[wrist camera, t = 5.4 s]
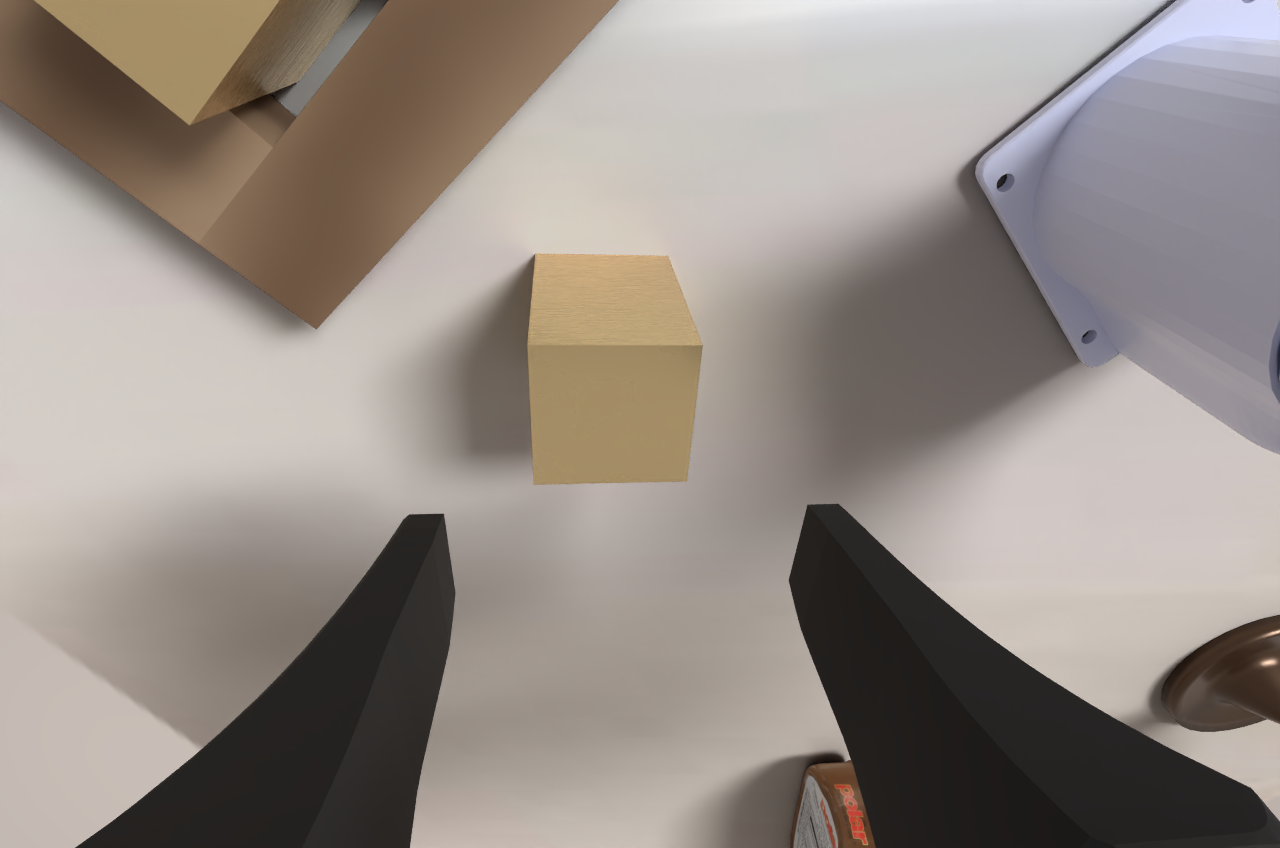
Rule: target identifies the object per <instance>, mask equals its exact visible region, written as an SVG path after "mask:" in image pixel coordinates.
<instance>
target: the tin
mask: <svg viewBox="0 0 1280 848" xmlns="http://www.w3.org/2000/svg"><path fill="white" fill-rule="evenodd" d="M791 848H876V847H875V843H874V839H873V835H872V831H871V828H870V824H869V820H868V816H867V813H866V809H865V806H864V802H863V799H862V795H861V792H860V788H859V785H858V781H857V778H856V774H855V771H854V767H853V764H852V761H851V760H849V761H847V762H840V763H821V764H814V765H811V766H810V767H808V768H807V769H806V772H805V774H804V779H803V783H802V787H801V792H800V796H799V800H798V805H797V809H796V814H795V819H794V824H793V829H792V834H791Z"/></svg>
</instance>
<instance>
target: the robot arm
mask: <svg viewBox="0 0 1280 848" xmlns="http://www.w3.org/2000/svg"><path fill="white" fill-rule="evenodd" d="M1005 174H1007V179H1006V182H1005V183H1004V184H1003V186H1002V187H1000V188H998V189H997V186H996V185H997V182H998V180H999V179H1000V177H1001V176H1003V175H1005ZM975 175H976V179H977V181H978V183H979V184H980V186H981V188H982V190H983V191H984V193H985V195H986V197H987V198H988V200H989V202H990V204H991V205H992V207H993V209H994V211H995V212H996V214H997V216H998V218H999V219H1000V221H1001V223H1002V225H1003V226H1004V228H1005V230H1006V232H1007V233H1008V235H1009V237H1010V239H1011V241H1012V242H1013V244H1014V246H1015V248H1016V249H1017V251H1018V253H1019V255H1020V256H1021V258H1022V260H1023V262H1024V263H1025V265H1026V267H1027V269H1028V270H1029V272H1030V274H1031V276H1032V277H1033V279H1034V281H1035V283H1036V284H1037V286H1038V288H1039V290H1040V292H1041V293H1042V295H1043V297H1044V299H1045V300H1046V302H1047V304H1048V306H1049V307H1050V309H1051V311H1052V313H1053V314H1054V316H1055V318H1056V320H1057V321H1058V323H1059V325H1060V327H1061V328H1062V330H1063V332H1064V334H1065V335H1066V337H1067V339H1068V341H1069V342H1070V344H1071V346H1072V348H1073V350H1074V351H1075V353H1076V355H1077V357H1078V358H1079V360H1080V361H1081V362H1082V363H1084V364H1085V365H1086V366H1088V367H1097V366H1100V365H1102V364H1104V363H1105V362H1107V361H1108V360H1110V359H1111V358H1113V357H1114V356H1116V355H1117V354H1119V353H1120V354H1122V355H1123V356H1125V357H1126V358H1128V359H1129V360H1131V361H1132V362H1134V363H1135V364H1137V365H1138V366H1139V367H1141V368H1142V369H1144V370H1145V371H1147V372H1148V373H1150V374H1151V375H1153V376H1154V377H1156V378H1157V379H1159V380H1160V381H1162V382H1163V383H1165V384H1166V385H1168V386H1169V387H1171V388H1172V389H1174V390H1175V391H1177V392H1178V393H1179V394H1181V395H1182V396H1184V397H1185V398H1187V399H1188V400H1190V401H1191V402H1193V403H1194V404H1196V405H1197V406H1199V407H1200V408H1202V409H1203V410H1205V411H1206V412H1208V413H1209V414H1211V415H1212V416H1214V417H1215V418H1217V419H1218V420H1219V421H1221V422H1222V423H1224V424H1225V425H1227V426H1228V427H1230V428H1231V429H1233V430H1234V431H1236V432H1237V433H1239V434H1240V435H1242V436H1243V437H1245V438H1246V439H1248V440H1249V441H1251V442H1253V443H1255V444H1257V445H1259V446H1261V447H1263V448H1264V449H1267V450H1269V451H1272V452H1274V453H1277V454H1280V13H1279V9H1278V5H1277V1H1276V0H1176V1H1175V2H1174V3H1173V4H1171V5H1170V6H1169V7H1168V8H1166V9H1165V10H1164V11H1163V12H1161V13H1160V14H1159V15H1158V16H1156V17H1155V18H1154V19H1153V20H1151V21H1150V22H1149V23H1148V24H1146V25H1145V26H1144V27H1143V28H1141V29H1140V30H1139V31H1138V32H1136V33H1135V34H1134V35H1133V36H1131V37H1130V38H1129V39H1128V40H1126V41H1125V42H1124V43H1123V44H1121V45H1120V46H1119V47H1118V48H1116V49H1115V50H1114V51H1113V52H1111V53H1110V54H1109V55H1108V56H1106V57H1105V58H1104V59H1103V60H1101V61H1100V62H1099V63H1098V64H1096V65H1095V66H1094V67H1093V68H1091V69H1090V70H1089V71H1088V72H1086V73H1085V74H1084V75H1083V76H1081V77H1080V78H1079V79H1078V80H1076V81H1075V82H1074V83H1073V84H1071V85H1070V86H1069V87H1068V88H1066V89H1065V90H1064V91H1063V92H1061V93H1060V94H1059V95H1058V96H1056V97H1055V98H1054V99H1053V100H1051V101H1050V102H1049V103H1048V104H1047V105H1045V106H1044V107H1043V108H1042V109H1040V110H1039V111H1038V112H1037V113H1035V114H1034V115H1033V116H1032V117H1030V118H1029V119H1028V120H1027V121H1025V122H1024V123H1023V124H1022V125H1020V126H1019V127H1018V128H1017V129H1015V130H1014V131H1013V132H1012V133H1010V134H1009V135H1008V136H1007V137H1005V138H1004V139H1003V140H1002V141H1000V142H999V143H998V144H997V145H995V146H994V147H993V148H992V149H990V150H989V151H988V152H987V153H985V154H984V155H983V156H982V157H981V159H980V160H979V161H978V163H977V165H976V170H975ZM1087 331H1089V332H1088V334H1087V335H1086V336H1085V337H1083V338H1082V336H1083V335H1084V334H1085V333H1086V332H1087ZM789 583H790V588H791V592H792V596H793V600H794V604H795V609H796V612H797V616H798V620H799V624H800V627H801V631H802V633H803V636H804V639H805V641H806V644H807V646H808V649H809V652H810V654H811V657H812V659H813V662H814V664H815V667H816V670H817V672H818V675H819V677H820V680H821V682H822V685H823V687H824V690H825V692H826V695H827V697H828V700H829V702H830V705H831V707H832V710H833V713H834V715H835V718H836V720H837V723H838V725H839V728H840V730H841V733H842V735H843V738H844V741H845V744H846V746H847V749H848V752H849V755H850V758H851V761H852V764H853V767H854V771H855V774H856V778H857V781H858V785H859V788H860V792H861V795H862V799H863V802H864V806H865V809H866V813H867V816H868V820H869V824H870V828H871V831H872V835H873V839H874V843H875V847H876V848H1280V821H1279V820H1278V819H1277V818H1276V816H1275V815H1274V814H1273V813H1272V812H1271V811H1270V809H1269V808H1268V807H1267V806H1266V805H1265V803H1264V802H1263V801H1262V800H1261V799H1260V798H1259V796H1258V795H1257V794H1256V793H1255V792H1254V791H1253V790H1252V789H1251V788H1250V787H1248V786H1246V785H1244V784H1242V783H1240V782H1237V781H1235V780H1233V779H1231V778H1229V777H1227V776H1225V775H1223V774H1221V773H1219V772H1217V771H1215V770H1213V769H1211V768H1209V767H1207V766H1205V765H1203V764H1201V763H1198V762H1196V761H1194V760H1192V759H1190V758H1188V757H1186V756H1184V755H1182V754H1180V753H1178V752H1176V751H1174V750H1172V749H1170V748H1168V747H1166V746H1164V745H1162V744H1160V743H1158V742H1157V741H1155V740H1153V739H1151V738H1149V737H1148V736H1146V735H1144V734H1142V733H1140V732H1138V731H1137V730H1135V729H1133V728H1131V727H1129V726H1127V725H1126V724H1124V723H1122V722H1120V721H1118V720H1116V719H1115V718H1113V717H1111V716H1110V715H1108V714H1106V713H1104V712H1103V711H1101V710H1099V709H1098V708H1096V707H1094V706H1092V705H1091V704H1089V703H1087V702H1086V701H1084V700H1082V699H1081V698H1079V697H1078V696H1076V695H1075V694H1073V693H1071V692H1070V691H1068V690H1067V689H1065V688H1063V687H1062V686H1060V685H1059V684H1057V683H1055V682H1054V681H1052V680H1051V679H1049V678H1047V677H1046V676H1044V675H1043V674H1041V673H1040V672H1038V671H1037V670H1035V669H1034V668H1032V667H1031V666H1029V665H1028V664H1026V663H1025V662H1024V661H1022V660H1021V659H1019V658H1018V657H1017V656H1015V655H1014V654H1012V653H1011V652H1010V651H1008V650H1007V649H1005V648H1004V647H1003V646H1001V645H1000V644H998V643H997V642H996V641H994V640H993V639H991V638H990V637H989V636H987V635H986V634H985V633H983V632H982V631H981V630H980V629H978V628H977V627H976V626H974V625H973V624H972V623H971V622H969V621H968V620H967V619H966V618H964V617H963V616H962V615H961V614H960V613H958V612H957V611H956V610H955V609H953V608H952V607H951V606H950V605H949V604H947V603H946V602H945V601H944V600H942V599H941V598H940V597H939V596H938V595H937V594H935V593H934V592H933V591H932V590H931V589H930V588H928V587H927V586H926V585H925V584H924V583H923V582H922V581H921V580H919V579H918V578H917V577H916V576H915V575H914V574H913V573H912V572H910V571H909V570H908V569H907V568H906V567H905V566H904V565H903V564H902V563H901V562H900V561H898V560H897V559H896V558H895V557H894V556H893V555H892V554H891V553H890V552H889V551H888V550H887V549H886V548H885V547H884V546H883V545H881V544H880V543H879V542H878V541H877V540H876V539H875V538H874V537H873V536H872V535H871V534H870V533H869V532H868V531H867V530H866V529H865V528H864V527H863V526H862V525H861V524H859V523H858V522H857V521H856V520H855V519H854V518H853V517H852V516H851V515H850V514H849V513H848V512H847V511H846V510H845V509H843V508H842V507H841V506H840V505H839V504H815V505H808V506H807V510H806V513H805V517H804V521H803V525H802V529H801V533H800V537H799V541H798V545H797V549H796V553H795V557H794V561H793V565H792V569H791V573H790V577H789ZM454 601H455V587H454V580H453V574H452V567H451V560H450V553H449V546H448V539H447V532H446V525H445V519H444V514H414V515H408V516H407V517H406V518H405V519H404V520H403V521H402V523H401V524H400V526H399V527H398V529H397V530H396V532H395V533H394V535H393V536H392V538H391V539H390V541H389V542H388V544H387V545H386V547H385V548H384V549H383V551H382V552H381V554H380V555H379V557H378V558H377V559H376V561H375V562H374V563H373V565H372V566H371V568H370V569H369V570H368V572H367V573H366V574H365V576H364V577H363V578H362V580H361V581H360V582H359V584H358V585H357V586H356V587H355V589H354V590H353V591H352V593H351V594H350V595H349V597H348V598H347V599H346V600H345V602H344V603H343V604H342V606H341V607H340V608H339V609H338V610H337V612H336V613H335V614H334V615H333V616H332V618H331V619H330V620H329V621H328V622H327V623H326V625H325V626H324V627H323V628H322V629H321V630H320V632H319V633H318V634H317V635H316V636H315V637H314V639H313V640H312V641H311V642H310V643H309V645H308V646H307V647H306V648H305V649H304V650H303V651H302V652H301V654H300V655H299V656H298V657H297V658H296V659H295V660H294V661H293V662H292V663H291V664H290V665H289V666H288V668H287V669H286V670H285V671H284V672H283V673H282V674H281V675H280V676H279V677H278V678H277V679H276V680H275V681H274V682H273V683H272V684H271V685H270V686H269V687H268V688H267V689H266V690H265V691H264V692H263V693H262V694H261V695H260V696H259V697H258V698H257V699H256V700H255V701H254V702H253V703H252V704H251V705H250V706H249V707H247V708H246V709H245V710H244V711H243V712H242V713H241V714H240V715H239V716H238V717H237V718H236V719H235V720H233V721H232V722H231V723H230V724H229V725H228V726H227V727H226V728H225V729H224V730H223V731H222V732H221V733H219V734H218V735H217V736H216V737H215V738H214V739H213V740H212V741H210V742H209V743H208V744H207V745H206V746H205V747H204V748H203V749H201V750H200V751H199V752H198V753H197V754H196V755H194V756H193V757H192V758H191V759H190V760H188V761H187V762H186V763H185V764H184V765H182V766H181V767H180V768H179V769H177V770H176V771H175V772H174V773H172V774H171V775H170V776H169V777H167V778H166V779H165V780H164V781H163V782H161V783H160V784H159V785H158V786H156V787H155V788H154V789H153V790H151V791H150V792H149V793H148V794H146V795H145V796H144V797H143V798H142V799H140V800H139V801H138V802H137V803H135V804H134V805H133V806H131V808H129V809H128V810H126V811H125V812H124V813H122V814H121V815H120V816H119V817H117V818H116V819H115V820H113V821H112V822H111V823H109V824H108V825H107V826H105V827H104V828H102V829H101V830H99V831H98V832H97V833H95V834H94V835H93V836H91V837H90V838H88V839H87V840H86V841H84V842H83V843H81V844H80V845H78V846H77V847H76V848H410V842H411V834H412V827H413V819H414V812H415V804H416V797H417V790H418V785H419V780H420V774H421V769H422V764H423V760H424V755H425V751H426V747H427V742H428V738H429V734H430V729H431V725H432V721H433V716H434V712H435V708H436V703H437V699H438V695H439V690H440V686H441V682H442V677H443V673H444V668H445V664H446V659H447V655H448V650H449V646H450V637H451V629H452V620H453V610H454Z"/></svg>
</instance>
